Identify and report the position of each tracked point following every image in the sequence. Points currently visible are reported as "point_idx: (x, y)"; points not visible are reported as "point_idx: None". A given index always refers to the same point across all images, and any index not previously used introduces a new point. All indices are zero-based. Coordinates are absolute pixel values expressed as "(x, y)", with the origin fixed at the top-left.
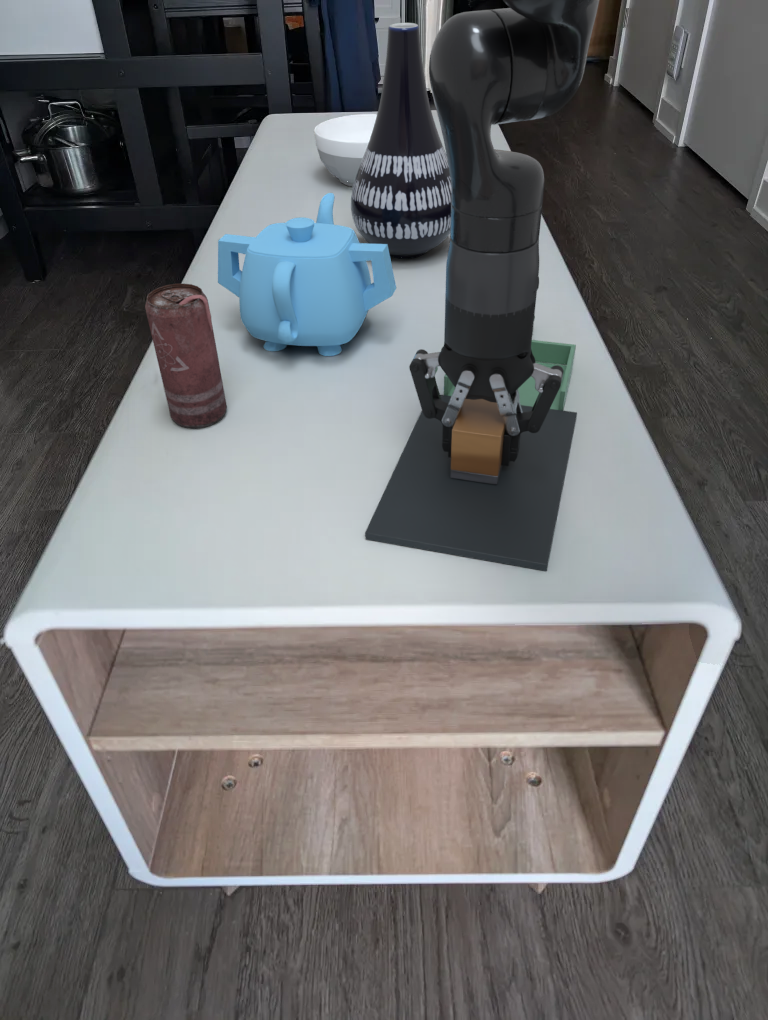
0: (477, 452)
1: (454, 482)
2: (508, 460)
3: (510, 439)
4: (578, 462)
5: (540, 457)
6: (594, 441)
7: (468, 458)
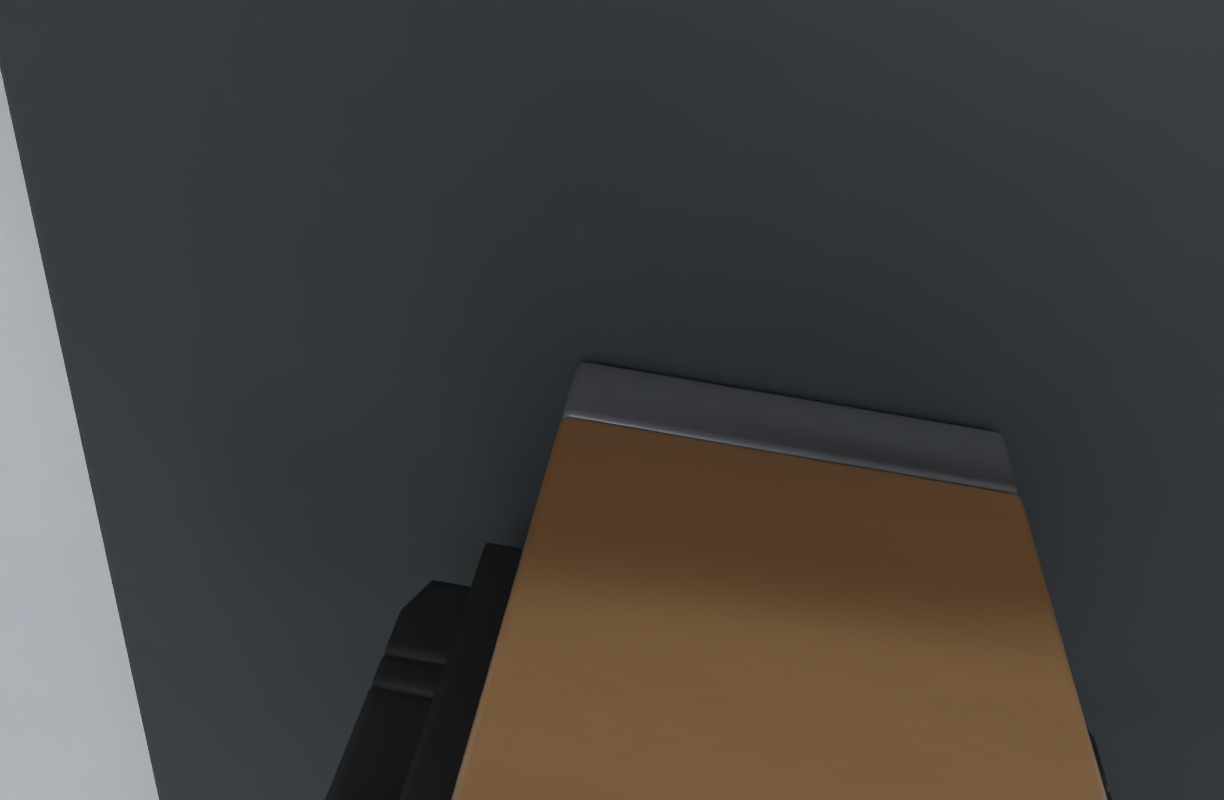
0: (766, 635)
1: (968, 382)
2: (473, 583)
3: (406, 784)
4: (91, 614)
5: (299, 644)
6: (62, 760)
7: (862, 579)
